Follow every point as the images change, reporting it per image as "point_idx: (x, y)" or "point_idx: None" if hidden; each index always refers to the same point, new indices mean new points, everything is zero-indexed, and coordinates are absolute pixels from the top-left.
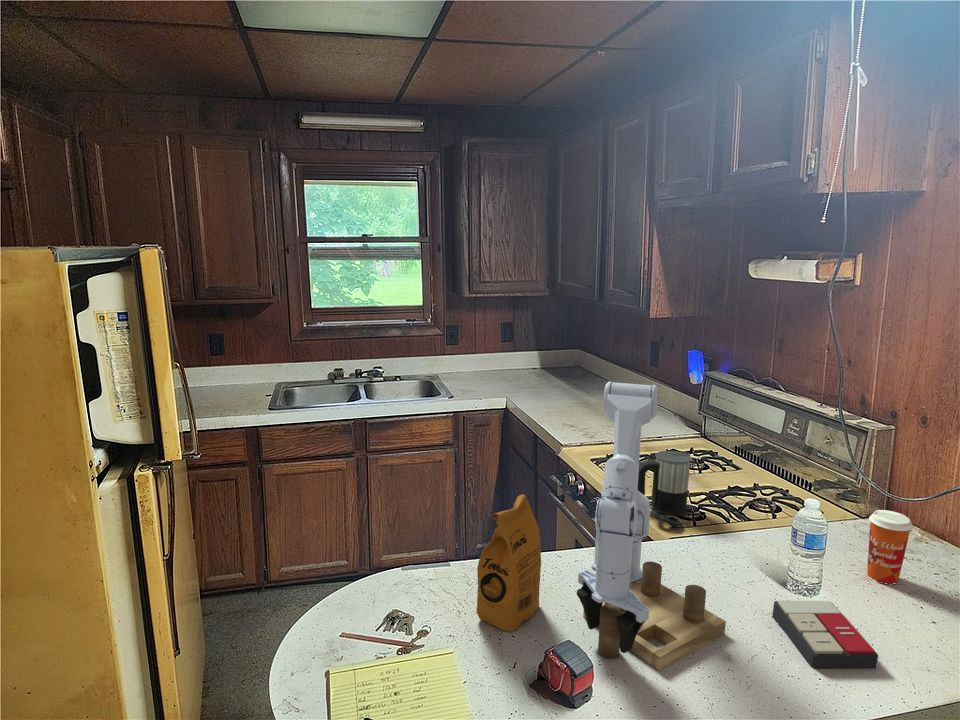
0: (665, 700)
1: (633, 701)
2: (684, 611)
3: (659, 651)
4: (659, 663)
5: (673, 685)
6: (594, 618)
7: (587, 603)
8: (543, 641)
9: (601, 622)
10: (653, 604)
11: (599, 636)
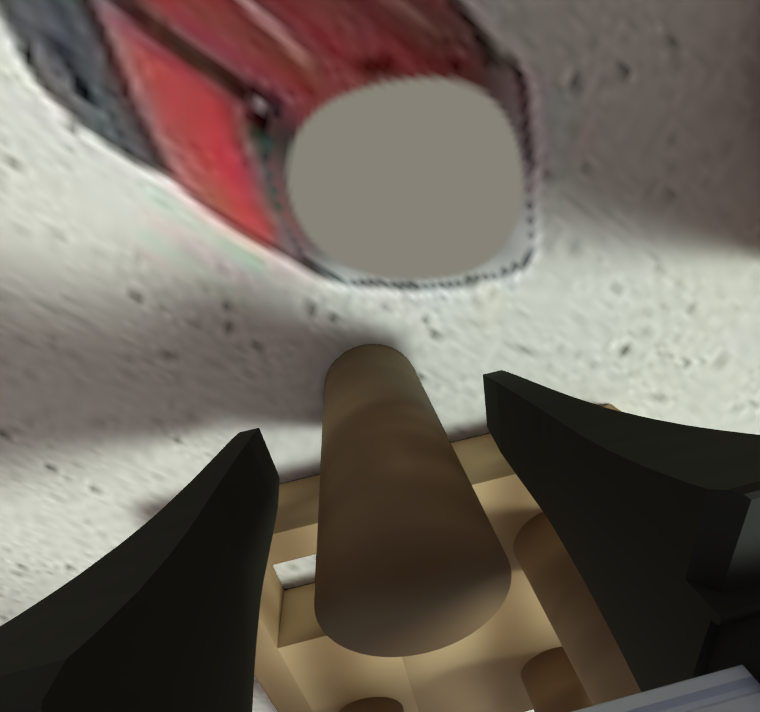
0: (11, 445)
1: (10, 318)
2: None
3: None
4: None
5: (105, 510)
6: (514, 431)
7: (622, 468)
8: (590, 115)
9: (401, 451)
10: (492, 652)
11: (398, 385)
